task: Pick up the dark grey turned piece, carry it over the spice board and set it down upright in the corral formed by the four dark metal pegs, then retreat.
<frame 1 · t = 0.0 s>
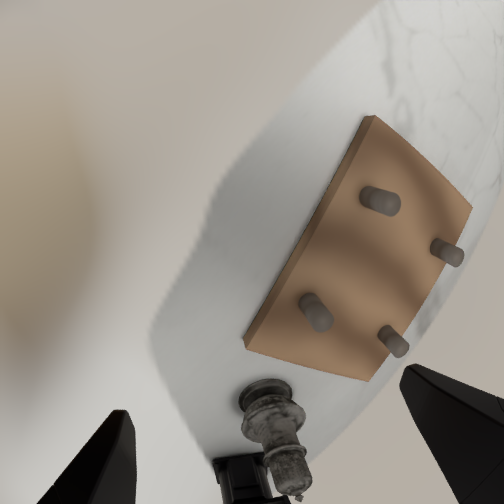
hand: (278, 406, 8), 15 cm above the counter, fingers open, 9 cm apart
dark grey turned piece: (265, 397, 28), on the counter
peg board: (370, 266, 25), on the counter
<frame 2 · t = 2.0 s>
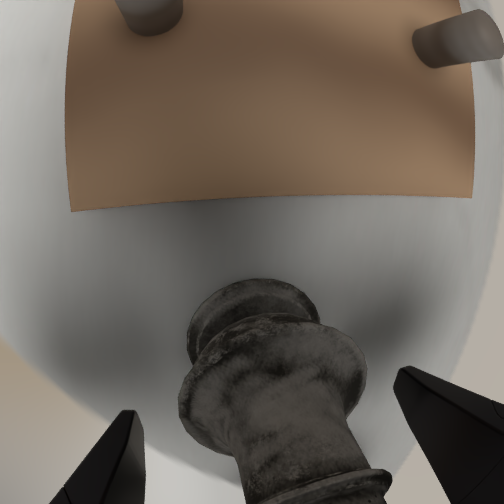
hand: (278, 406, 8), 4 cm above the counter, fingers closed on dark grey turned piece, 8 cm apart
dark grey turned piece: (254, 337, 12), on the counter, touching gripper
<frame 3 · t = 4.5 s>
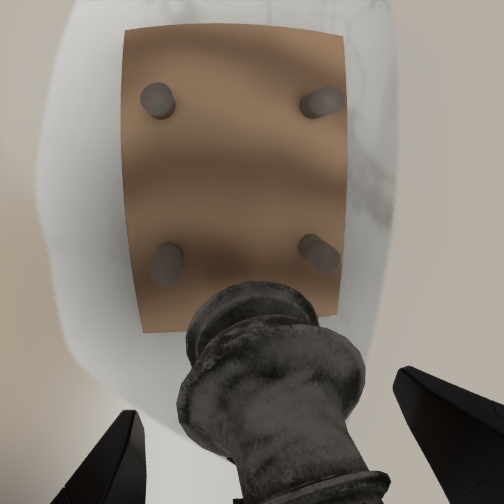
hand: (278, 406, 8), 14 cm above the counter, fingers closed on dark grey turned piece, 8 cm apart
dark grey turned piece: (253, 339, 12), point 10 cm above the counter, touching gripper
peg board: (236, 176, 19), on the counter
when the fingers open (6 cm above the counter, at t = 6.9 s): dark grey turned piece stays where it is, resting on peg board.
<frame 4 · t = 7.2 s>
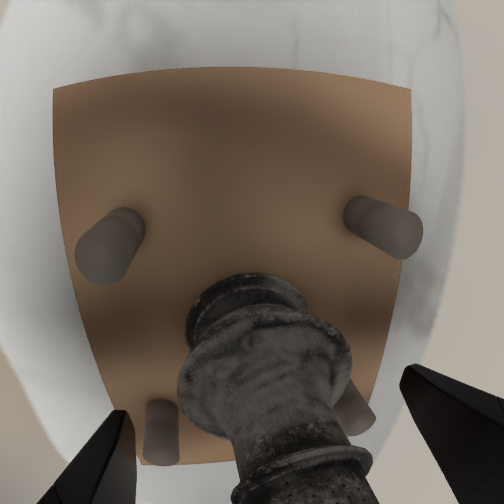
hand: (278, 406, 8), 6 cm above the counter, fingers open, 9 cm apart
dark grey turned piece: (248, 328, 13), point 1 cm above the counter, touching peg board
peg board: (245, 310, 14), on the counter
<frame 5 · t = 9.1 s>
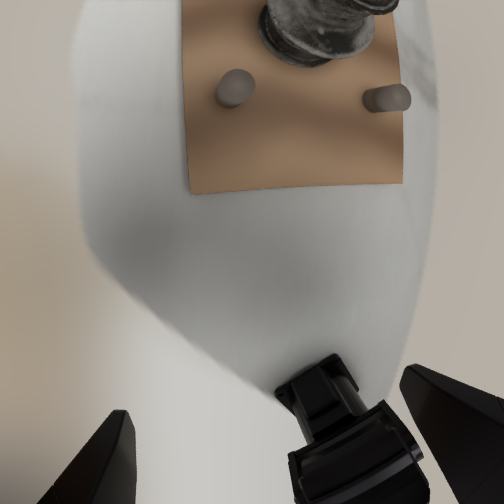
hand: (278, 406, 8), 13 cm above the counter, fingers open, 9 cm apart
dark grey turned piece: (300, 30, 15), point 1 cm above the counter, touching peg board
peg board: (294, 34, 16), on the counter
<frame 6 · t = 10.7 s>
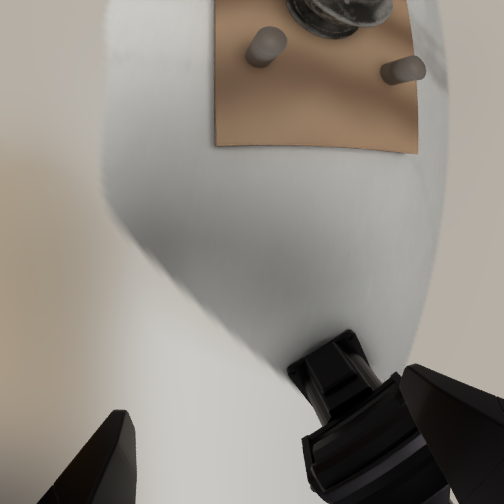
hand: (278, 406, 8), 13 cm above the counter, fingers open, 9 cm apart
dark grey turned piece: (323, 6, 15), point 1 cm above the counter, touching peg board
peg board: (317, 12, 16), on the counter
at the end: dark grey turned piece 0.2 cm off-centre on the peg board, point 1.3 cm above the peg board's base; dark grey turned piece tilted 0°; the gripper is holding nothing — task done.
